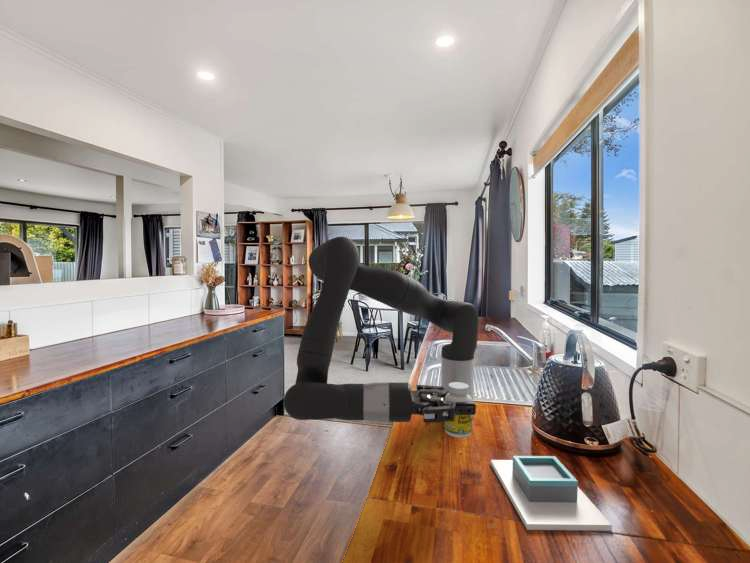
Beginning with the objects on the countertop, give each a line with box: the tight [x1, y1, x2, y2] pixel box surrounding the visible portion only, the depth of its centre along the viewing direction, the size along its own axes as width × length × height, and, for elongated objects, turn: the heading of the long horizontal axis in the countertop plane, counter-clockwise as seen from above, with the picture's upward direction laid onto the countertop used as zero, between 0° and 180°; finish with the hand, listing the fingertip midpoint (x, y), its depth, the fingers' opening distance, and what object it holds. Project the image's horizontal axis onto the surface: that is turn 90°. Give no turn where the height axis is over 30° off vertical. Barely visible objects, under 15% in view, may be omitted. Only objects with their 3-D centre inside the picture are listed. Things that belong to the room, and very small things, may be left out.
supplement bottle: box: [444, 382, 473, 438], centre depth 74 cm, size 5×5×10 cm
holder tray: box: [490, 455, 613, 532], centre depth 71 cm, size 20×14×5 cm
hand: (471, 402), depth 74 cm, fingers closed on supplement bottle, 5 cm apart
